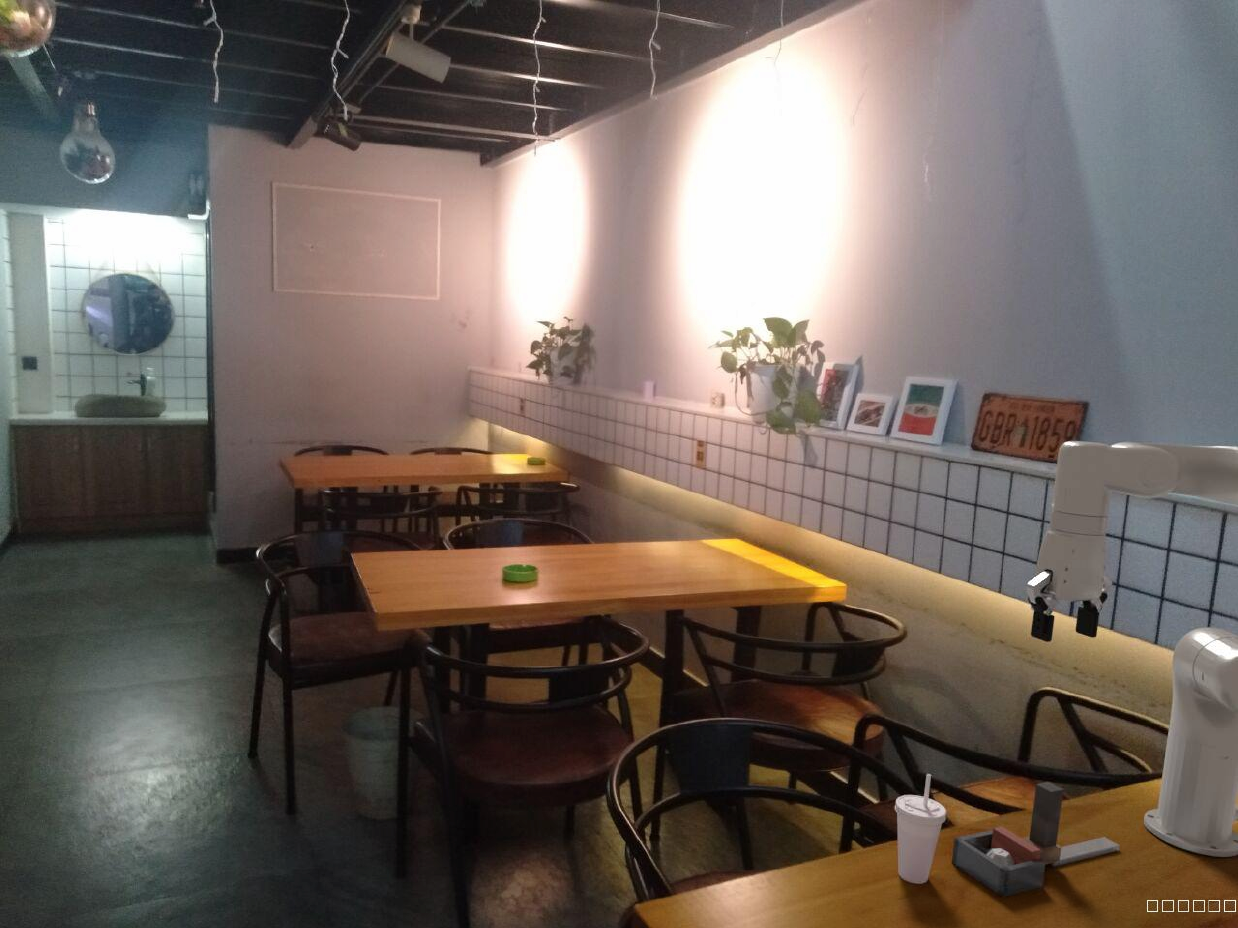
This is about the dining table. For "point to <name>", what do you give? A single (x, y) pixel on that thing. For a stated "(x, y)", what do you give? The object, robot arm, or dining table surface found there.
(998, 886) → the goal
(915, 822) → the smoothie
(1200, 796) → the robot arm
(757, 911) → the dining table surface
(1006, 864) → the game die
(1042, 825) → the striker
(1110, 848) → the rail
